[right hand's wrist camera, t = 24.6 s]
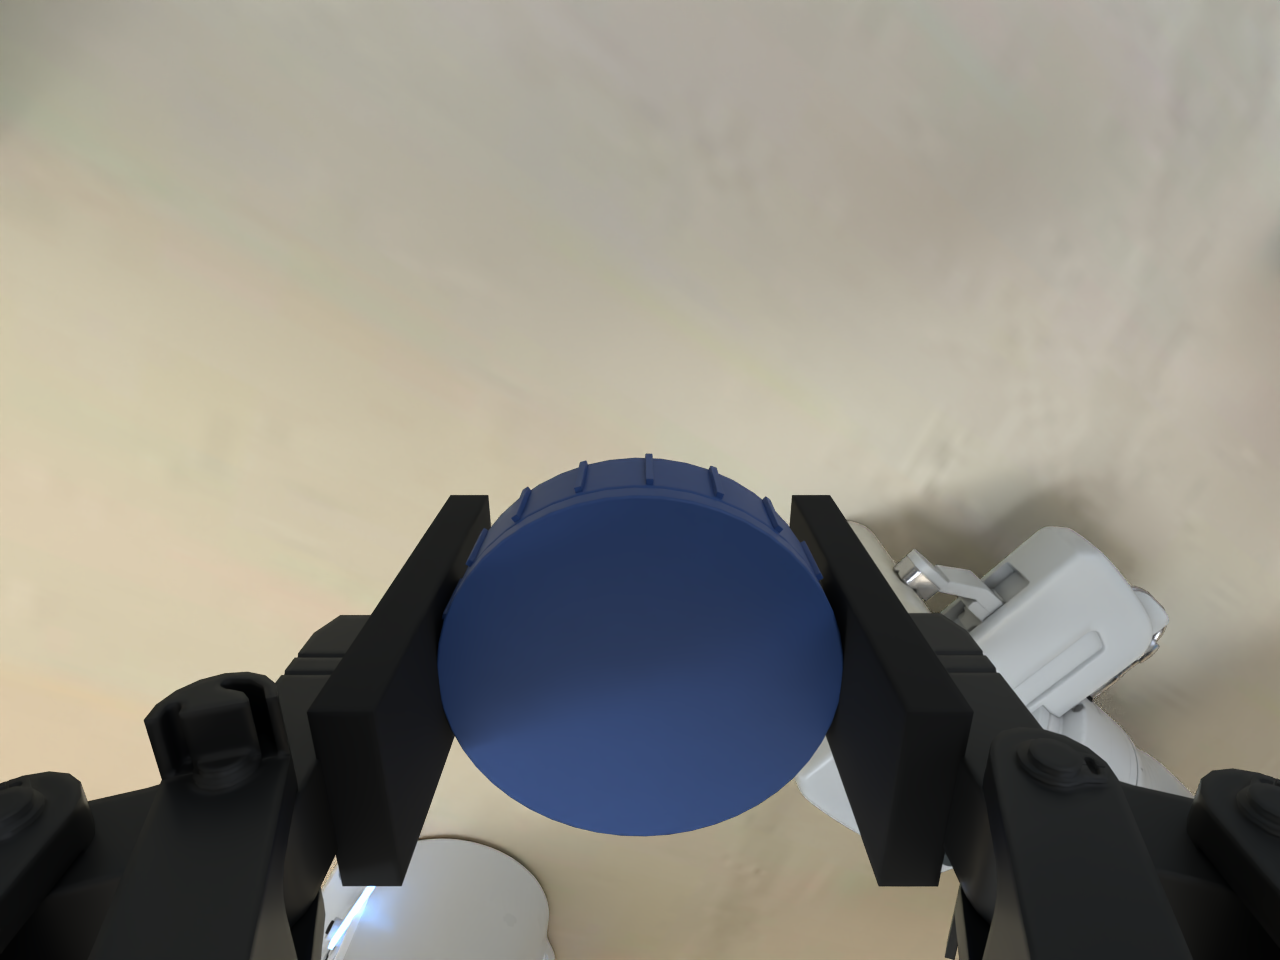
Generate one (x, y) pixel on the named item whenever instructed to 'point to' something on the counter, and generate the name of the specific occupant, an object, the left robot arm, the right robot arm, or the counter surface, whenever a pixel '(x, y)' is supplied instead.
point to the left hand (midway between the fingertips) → (859, 604)
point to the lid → (640, 649)
